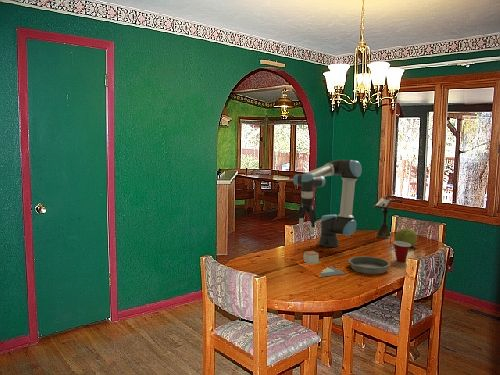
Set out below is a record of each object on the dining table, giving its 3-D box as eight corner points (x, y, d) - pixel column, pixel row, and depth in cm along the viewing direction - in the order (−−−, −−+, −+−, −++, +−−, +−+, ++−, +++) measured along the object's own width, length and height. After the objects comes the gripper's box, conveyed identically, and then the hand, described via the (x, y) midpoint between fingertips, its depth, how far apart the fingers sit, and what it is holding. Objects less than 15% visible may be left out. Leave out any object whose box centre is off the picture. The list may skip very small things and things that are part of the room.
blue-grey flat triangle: (291, 261, 276) (291, 260, 276) (315, 258, 283) (315, 258, 283) (319, 277, 245) (319, 277, 245) (345, 274, 252) (345, 273, 251)
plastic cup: (408, 264, 271) (409, 245, 270) (391, 261, 277) (391, 243, 275) (411, 259, 280) (412, 242, 279) (394, 257, 286) (395, 240, 284)
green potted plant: (391, 247, 313) (390, 227, 318) (401, 251, 321) (400, 231, 327) (412, 244, 301) (410, 223, 307) (421, 248, 310) (420, 228, 316)
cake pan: (396, 268, 262) (397, 261, 262) (376, 278, 245) (376, 270, 245) (362, 260, 280) (362, 253, 279) (340, 268, 263) (340, 261, 263)
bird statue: (383, 240, 333) (385, 196, 328) (370, 237, 343) (371, 194, 339) (396, 237, 342) (398, 194, 338) (382, 234, 353) (384, 192, 349)
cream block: (303, 262, 273) (303, 251, 272) (312, 261, 276) (313, 250, 275) (308, 265, 267) (309, 254, 266) (318, 264, 269) (318, 253, 268)
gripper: (292, 195, 283) (292, 226, 286) (312, 200, 260) (311, 234, 263) (302, 194, 286) (301, 225, 288) (322, 200, 263) (321, 233, 266)
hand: (306, 229), depth 276 cm, fingers open, 13 cm apart
